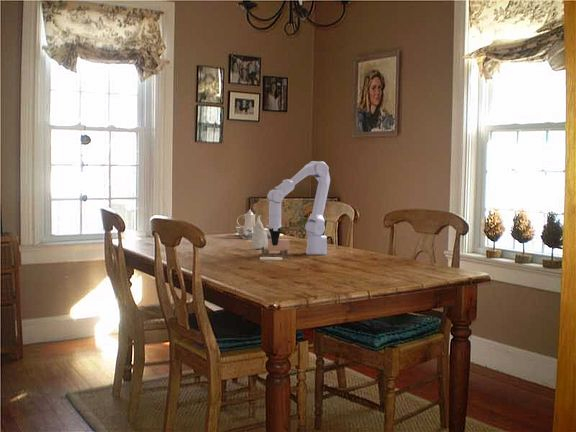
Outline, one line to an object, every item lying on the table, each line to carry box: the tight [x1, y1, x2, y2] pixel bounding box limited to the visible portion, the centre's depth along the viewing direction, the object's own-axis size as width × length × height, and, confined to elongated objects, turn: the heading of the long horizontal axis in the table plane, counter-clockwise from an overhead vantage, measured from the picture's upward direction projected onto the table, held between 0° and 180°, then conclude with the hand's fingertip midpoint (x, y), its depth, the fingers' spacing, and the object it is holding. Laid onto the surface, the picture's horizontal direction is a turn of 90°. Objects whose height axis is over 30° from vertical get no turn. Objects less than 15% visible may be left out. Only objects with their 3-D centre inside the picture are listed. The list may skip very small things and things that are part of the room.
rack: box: [261, 247, 289, 258], centre depth 322 cm, size 12×9×3 cm
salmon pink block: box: [267, 238, 291, 252], centre depth 322 cm, size 10×4×5 cm, turn 93°
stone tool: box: [250, 219, 268, 250], centre depth 342 cm, size 9×3×15 cm, turn 111°
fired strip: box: [259, 256, 283, 261], centre depth 312 cm, size 10×4×1 cm, turn 86°
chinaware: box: [233, 209, 272, 240], centre depth 387 cm, size 28×17×17 cm, turn 66°
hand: (274, 244), depth 322 cm, fingers open, 4 cm apart
